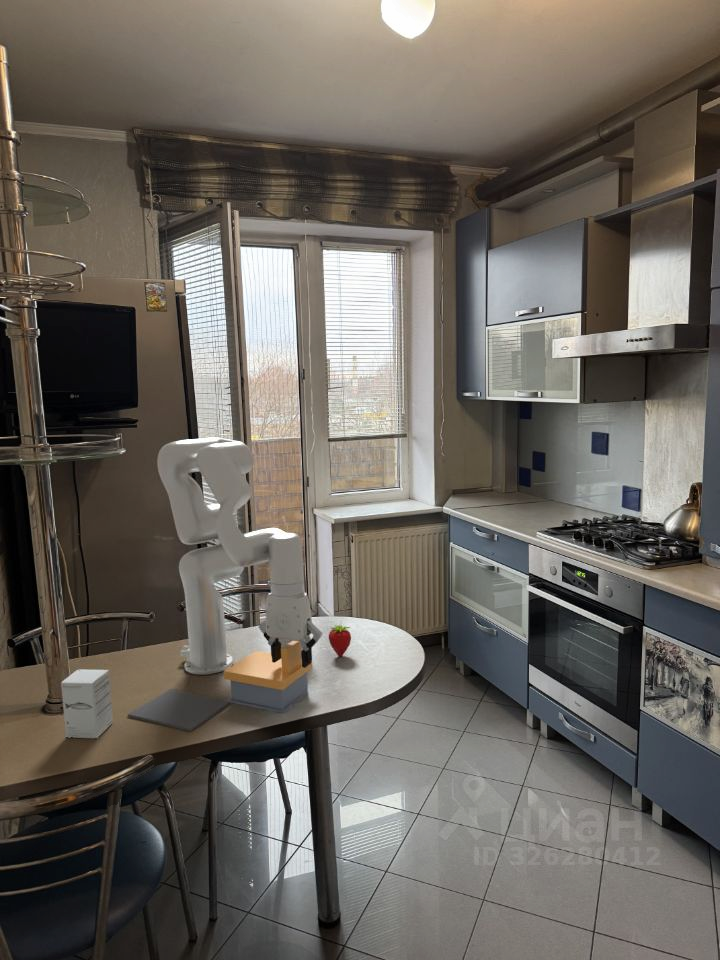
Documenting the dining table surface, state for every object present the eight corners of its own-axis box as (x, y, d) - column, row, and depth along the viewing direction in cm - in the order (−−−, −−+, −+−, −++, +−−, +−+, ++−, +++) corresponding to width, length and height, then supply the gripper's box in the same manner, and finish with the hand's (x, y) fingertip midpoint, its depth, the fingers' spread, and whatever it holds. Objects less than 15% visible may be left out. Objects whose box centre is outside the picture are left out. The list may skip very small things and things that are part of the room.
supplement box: (64, 738, 145) (59, 682, 143) (83, 721, 152) (78, 667, 150) (97, 740, 143) (91, 683, 142) (114, 722, 151) (109, 668, 149)
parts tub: (231, 702, 158) (230, 673, 157) (258, 683, 168) (257, 656, 167) (282, 713, 152) (281, 683, 151) (307, 692, 162) (306, 664, 161)
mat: (127, 716, 153) (127, 714, 153) (170, 691, 166) (170, 688, 166) (190, 731, 145) (190, 728, 145) (230, 703, 158) (230, 701, 158)
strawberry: (346, 649, 188) (345, 614, 186) (355, 659, 181) (354, 623, 179) (326, 653, 186) (324, 618, 184) (334, 663, 179) (332, 626, 177)
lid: (224, 679, 157) (221, 645, 156) (256, 658, 169) (254, 627, 168) (282, 690, 150) (280, 655, 149) (312, 667, 162) (310, 635, 161)
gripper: (246, 589, 154) (250, 663, 156) (312, 596, 146) (316, 674, 149) (264, 580, 161) (269, 651, 163) (329, 587, 153) (332, 662, 155)
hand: (291, 662), depth 156 cm, fingers open, 7 cm apart
